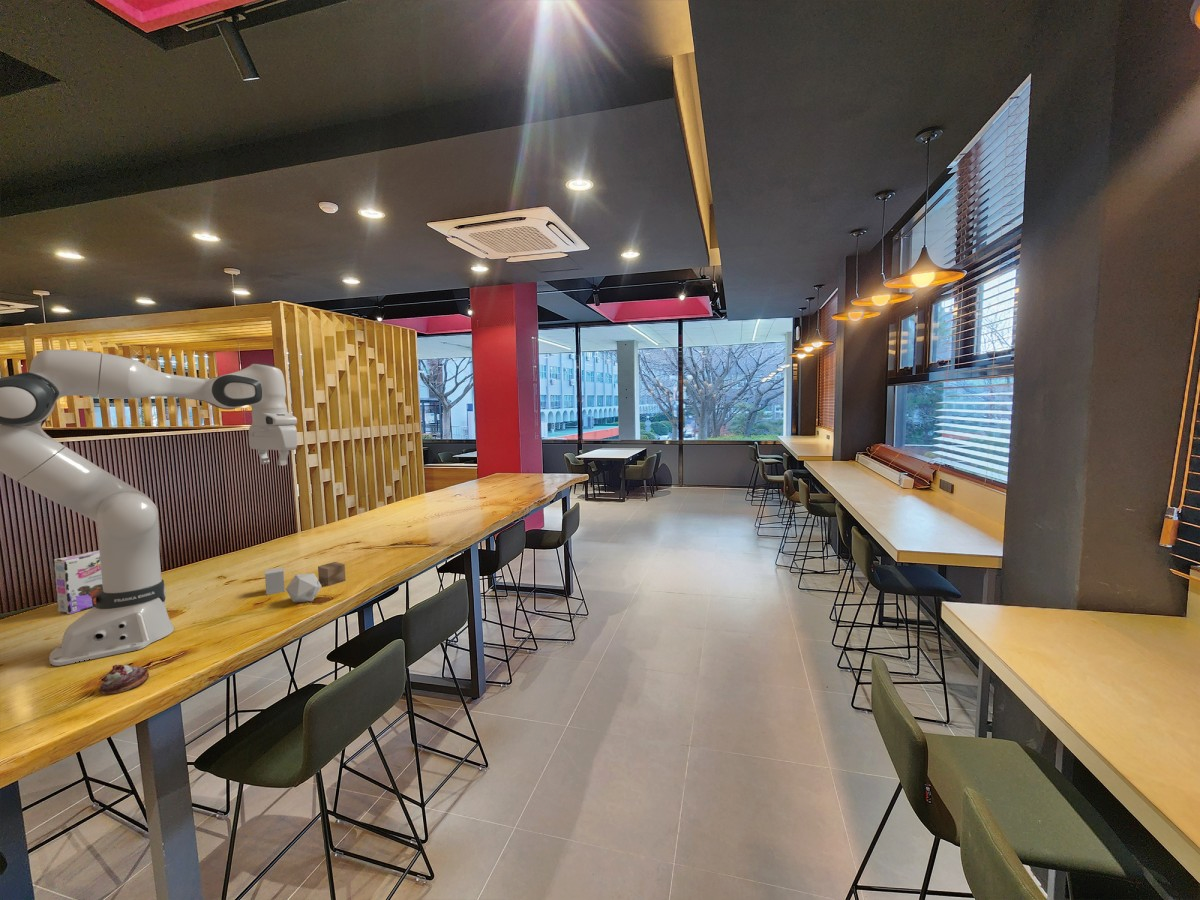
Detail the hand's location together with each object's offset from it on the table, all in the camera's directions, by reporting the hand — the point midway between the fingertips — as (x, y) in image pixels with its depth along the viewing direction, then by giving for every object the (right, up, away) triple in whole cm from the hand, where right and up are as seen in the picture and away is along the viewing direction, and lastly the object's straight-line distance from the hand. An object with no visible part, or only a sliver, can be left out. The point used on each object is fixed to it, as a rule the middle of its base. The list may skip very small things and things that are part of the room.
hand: (273, 464), depth 145 cm
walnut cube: (+5, -42, +23) cm, 48 cm away
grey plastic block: (-9, -43, +15) cm, 46 cm away
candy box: (-59, -44, +4) cm, 74 cm away
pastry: (-5, -47, -40) cm, 62 cm away
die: (+5, -43, +7) cm, 44 cm away
